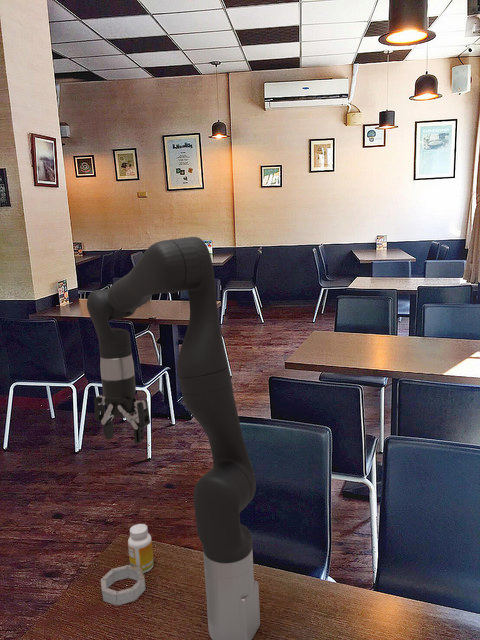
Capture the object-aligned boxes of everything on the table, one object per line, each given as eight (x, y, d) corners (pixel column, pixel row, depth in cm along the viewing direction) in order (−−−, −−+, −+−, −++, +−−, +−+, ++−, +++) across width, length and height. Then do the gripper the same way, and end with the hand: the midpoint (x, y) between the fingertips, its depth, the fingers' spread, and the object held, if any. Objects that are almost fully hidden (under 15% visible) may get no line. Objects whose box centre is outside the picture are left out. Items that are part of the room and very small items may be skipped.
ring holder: (152, 581, 113) (151, 571, 113) (127, 609, 105) (126, 598, 105) (120, 571, 117) (119, 562, 117) (93, 597, 109) (92, 587, 109)
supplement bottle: (156, 559, 121) (153, 521, 119) (150, 574, 116) (146, 535, 114) (134, 559, 122) (130, 521, 120) (127, 574, 116) (123, 535, 115)
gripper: (152, 372, 118) (158, 438, 121) (104, 368, 125) (110, 431, 127) (132, 381, 112) (139, 451, 115) (82, 376, 118) (89, 442, 121)
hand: (124, 440), depth 121 cm, fingers open, 8 cm apart
